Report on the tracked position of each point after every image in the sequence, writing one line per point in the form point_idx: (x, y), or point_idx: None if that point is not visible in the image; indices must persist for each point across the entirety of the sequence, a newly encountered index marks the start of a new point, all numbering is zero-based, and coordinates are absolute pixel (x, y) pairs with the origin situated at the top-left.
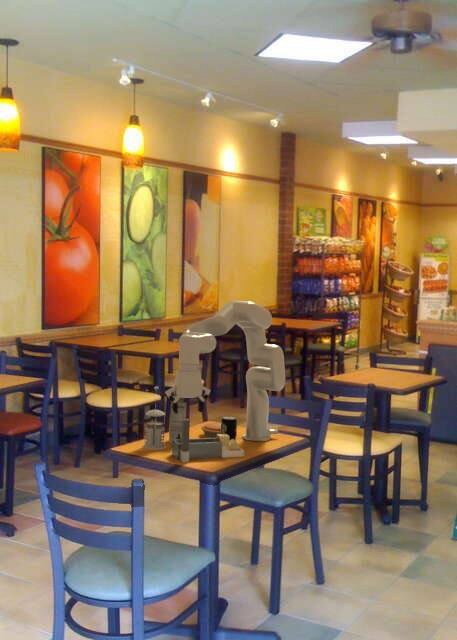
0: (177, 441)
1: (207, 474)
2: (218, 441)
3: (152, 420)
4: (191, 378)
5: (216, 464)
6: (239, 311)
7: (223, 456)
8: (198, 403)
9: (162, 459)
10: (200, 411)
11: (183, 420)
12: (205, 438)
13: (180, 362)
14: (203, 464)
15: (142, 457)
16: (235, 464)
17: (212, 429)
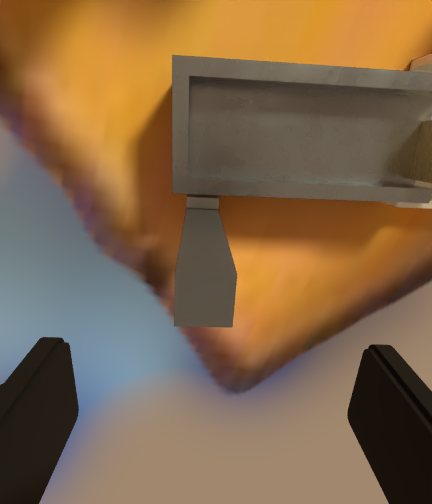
0: (202, 78)
1: (222, 388)
2: (429, 160)
3: None
4: None
5: (306, 286)
6: None
7: (387, 203)
8: (421, 439)
9: (110, 162)
10: (351, 422)
11: (174, 319)
12: (393, 79)
13: None
14: (258, 277)
15: (14, 98)
16: (373, 300)
17: None
